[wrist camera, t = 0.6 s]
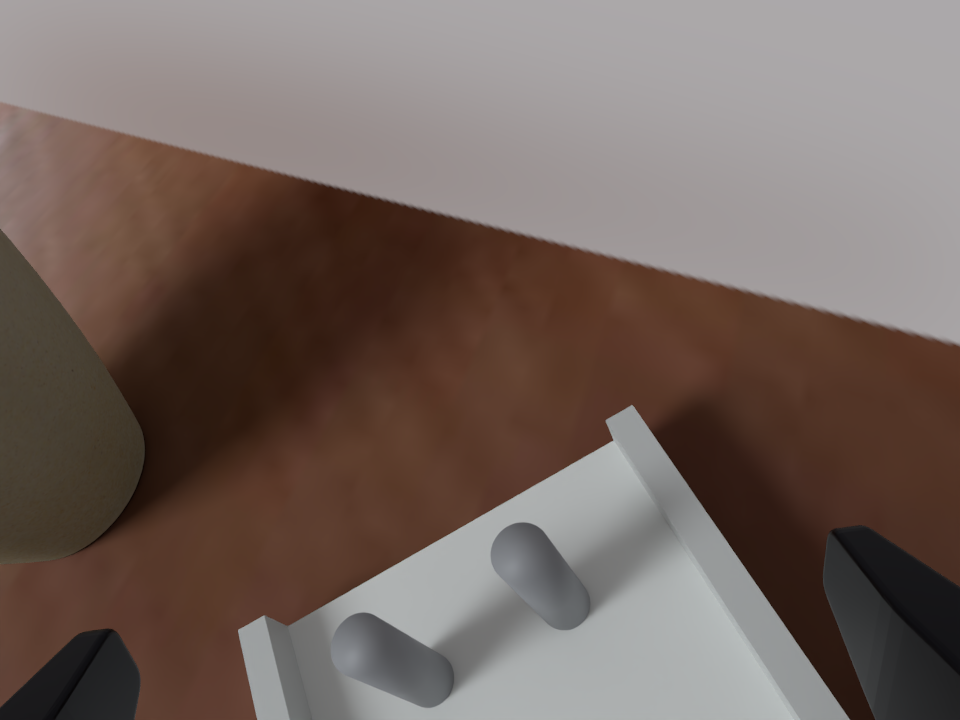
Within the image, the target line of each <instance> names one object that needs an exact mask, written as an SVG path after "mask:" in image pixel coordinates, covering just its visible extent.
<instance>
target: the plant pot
mask: <svg viewBox="0 0 960 720" xmlns="http://www.w3.org/2000/svg"><path fill="white" fill-rule="evenodd" d="M144 457H145V444H144V437H143V433H142V430H141V428H140V425H139V423H138V422H137V420H136V418H135V416H134V414H133V412H132V411H131V409H130V407H129V405H128V404H127V402H126V400H125V399H124V397H123V395H122V394H121V392H120V390H119V388H118V387H117V385H116V384H115V382H114V380H113V379H112V377H111V375H110V374H109V372H108V371H107V369H106V367H105V366H104V364H103V363H102V361H101V359H100V358H99V357H98V355H97V354H96V352H95V351H94V349H93V348H92V346H91V345H90V343H89V342H88V341H87V339H86V338H85V336H84V335H83V333H82V332H81V330H80V329H79V328H78V326H77V325H76V324H75V322H74V321H73V320H72V318H71V317H70V315H69V314H68V313H67V311H66V310H65V309H64V307H63V306H62V305H61V303H60V302H59V301H58V299H57V298H56V297H55V295H54V294H53V293H52V292H51V290H50V289H49V288H48V286H47V285H46V284H45V282H44V281H43V280H42V279H41V277H40V276H39V275H38V273H37V272H36V271H35V270H34V269H33V267H32V266H31V265H30V264H29V262H28V261H27V260H26V259H25V258H24V256H23V255H22V254H21V253H20V251H19V250H18V249H17V248H16V247H15V245H14V244H13V243H12V242H11V241H10V239H9V238H8V237H7V236H6V235H5V234H4V233H3V232H2V230H1V229H0V564H12V563H28V562H40V561H49V560H55V559H60V558H63V557H66V556H69V555H71V554H74V553H75V552H77V551H79V550H81V549H83V548H84V547H86V546H87V545H89V544H90V543H92V542H93V541H95V540H96V539H97V538H98V537H99V536H100V535H101V534H103V533H104V532H105V531H106V530H107V529H108V528H109V527H110V526H111V525H112V524H113V523H114V521H115V520H116V519H117V518H118V517H119V515H120V514H121V513H122V511H123V510H124V508H125V507H126V505H127V504H128V502H129V500H130V498H131V497H132V495H133V493H134V491H135V489H136V486H137V484H138V481H139V478H140V475H141V472H142V469H143V463H144Z"/></svg>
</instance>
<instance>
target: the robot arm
mask: <svg viewBox="0 0 960 720" xmlns="http://www.w3.org/2000/svg"><path fill="white" fill-rule="evenodd" d="M823 583H824V589H825V593H826V596H827V598H828V601H829V604H830V606H831V609H832V611H833V614H834V616H835V619H836V622H837V624H838V627H839V629H840V632H841V634H842V637H843V640H844V642H845V645H846V647H847V650H848V652H849V655H850V658H851V660H852V663H853V665H854V668H855V670H856V673H857V676H858V678H859V681H860V683H861V686H862V688H863V691H864V693H865V696H866V698H867V701H868V703H869V706H870V708H871V710H872V713H873V715H874V717H875V719H876V720H960V587H959V586H958V585H956V584H955V583H953V582H951V581H950V580H948V579H947V578H945V577H944V576H942V575H941V574H939V573H938V572H936V571H935V570H933V569H932V568H930V567H929V566H927V565H926V564H924V563H922V562H921V561H919V560H918V559H916V558H915V557H913V556H912V555H910V554H909V553H907V552H906V551H904V550H903V549H901V548H900V547H898V546H896V545H895V544H893V543H892V542H890V541H889V540H887V539H886V538H884V537H883V536H881V535H880V534H878V533H877V532H875V531H874V530H872V529H870V528H868V527H866V526H862V525H859V526H851V527H844V528H836V529H833V530H831V531H830V533H829V534H828V538H827V545H826V553H825V562H824V571H823ZM139 692H140V673H139V669H138V667H137V665H136V663H135V662H134V660H133V658H132V656H131V655H130V653H129V651H128V649H127V648H126V646H125V644H124V642H123V641H122V639H121V637H120V636H119V634H118V633H117V632H116V631H114V630H113V629H101V630H93V631H86V632H82V633H80V634H78V635H77V636H75V637H74V638H73V639H72V640H71V641H70V642H69V643H68V644H67V645H65V646H64V647H63V648H62V649H61V650H60V651H59V652H58V653H57V654H56V655H55V656H54V657H53V658H52V659H51V660H50V661H49V662H48V663H47V664H46V665H44V666H43V667H42V668H41V669H40V670H39V671H38V672H37V673H36V674H35V675H34V676H33V677H32V678H31V679H30V680H29V681H28V682H27V683H26V684H25V685H23V686H22V687H21V688H20V689H19V690H18V691H17V692H16V693H15V694H14V695H13V696H12V697H11V698H10V699H9V700H8V701H7V702H6V703H5V704H3V705H2V706H1V707H0V720H134V719H135V714H136V708H137V703H138V697H139Z"/></svg>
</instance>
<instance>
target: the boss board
mask: <svg viewBox="0 0 960 720" xmlns="http://www.w3.org/2000/svg"><path fill="white" fill-rule="evenodd" d="M606 423H607V425H608V428H609V430H610V433H611V435H612V437H613V440H614V441H612V442H610V443H608V444H607V445H605V446H603V447H601V448H600V449H598V450H596V451H594V452H593V453H591V454H589V455H587V456H586V457H584V458H582V459H580V460H579V461H577V462H575V463H573V464H572V465H570V466H568V467H566V468H565V469H563V470H561V471H559V472H558V473H556V474H554V475H552V476H551V477H549V478H547V479H545V480H544V481H542V482H540V483H538V484H537V485H535V486H533V487H531V488H530V489H528V490H526V491H524V492H523V493H521V494H519V495H517V496H516V497H514V498H512V499H510V500H509V501H507V502H505V503H503V504H502V505H500V506H498V507H496V508H495V509H493V510H491V511H489V512H488V513H486V514H484V515H482V516H481V517H479V518H477V519H475V520H474V521H472V522H470V523H468V524H466V525H465V526H463V527H461V528H459V529H458V530H456V531H454V532H452V533H451V534H449V535H447V536H445V537H444V538H442V539H440V540H438V541H437V542H435V543H433V544H431V545H430V546H428V547H426V548H424V549H423V550H421V551H419V552H417V553H416V554H414V555H412V556H410V557H409V558H407V559H405V560H403V561H402V562H400V563H398V564H396V565H395V566H393V567H391V568H389V569H388V570H386V571H384V572H382V573H381V574H379V575H377V576H375V577H374V578H372V579H370V580H368V581H367V582H365V583H363V584H361V585H360V586H358V587H356V588H354V589H353V590H351V591H349V592H347V593H346V594H344V595H342V596H340V597H339V598H337V599H335V600H333V601H331V602H330V603H328V604H326V605H324V606H323V607H321V608H319V609H317V610H316V611H314V612H312V613H310V614H309V615H307V616H305V617H303V618H302V619H300V620H298V621H296V622H295V623H293V624H291V625H289V626H286V625H284V624H282V623H280V622H277V621H275V620H273V619H271V618H269V617H267V616H265V615H264V616H262V617H261V618H259V619H257V620H255V621H254V622H252V623H250V624H248V625H247V626H245V627H243V628H241V629H239V630H238V633H239V638H240V642H241V647H242V651H243V656H244V661H245V665H246V670H247V674H248V679H249V683H250V688H251V693H252V697H253V702H254V706H255V711H256V716H257V720H850V719H849V718H848V716H847V715H846V713H845V712H844V711H843V709H842V708H841V706H840V705H839V703H838V702H837V700H836V699H835V698H834V696H833V695H832V693H831V692H830V690H829V689H828V687H827V686H826V685H825V683H824V682H823V680H822V679H821V677H820V676H819V674H818V673H817V671H816V670H815V669H814V667H813V666H812V664H811V663H810V661H809V660H808V658H807V657H806V656H805V654H804V653H803V651H802V650H801V648H800V647H799V645H798V644H797V643H796V641H795V640H794V638H793V637H792V635H791V634H790V632H789V631H788V629H787V628H786V627H785V625H784V624H783V622H782V621H781V619H780V618H779V616H778V615H777V614H776V612H775V611H774V609H773V608H772V606H771V605H770V603H769V602H768V601H767V599H766V598H765V596H764V595H763V593H762V592H761V590H760V589H759V587H758V586H757V585H756V583H755V582H754V580H753V579H752V577H751V576H750V574H749V573H748V572H747V570H746V569H745V567H744V566H743V564H742V563H741V561H740V560H739V559H738V557H737V556H736V554H735V553H734V551H733V550H732V548H731V547H730V545H729V544H728V543H727V541H726V540H725V538H724V537H723V535H722V534H721V532H720V531H719V530H718V528H717V527H716V525H715V524H714V522H713V521H712V519H711V518H710V517H709V515H708V514H707V512H706V511H705V509H704V508H703V506H702V505H701V503H700V502H699V501H698V499H697V498H696V496H695V495H694V493H693V492H692V490H691V489H690V488H689V486H688V485H687V483H686V482H685V480H684V479H683V477H682V476H681V475H680V473H679V472H678V470H677V469H676V467H675V466H674V464H673V463H672V461H671V460H670V459H669V457H668V456H667V454H666V453H665V451H664V450H663V448H662V447H661V446H660V444H659V443H658V441H657V440H656V438H655V437H654V435H653V434H652V433H651V431H650V430H649V428H648V427H647V425H646V424H645V422H644V421H643V420H642V418H641V417H640V415H639V414H638V412H637V411H636V409H635V408H634V406H633V405H632V406H630V407H628V408H626V409H625V410H623V411H621V412H619V413H618V414H616V415H614V416H612V417H611V418H609V419H607V420H606Z"/></svg>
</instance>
